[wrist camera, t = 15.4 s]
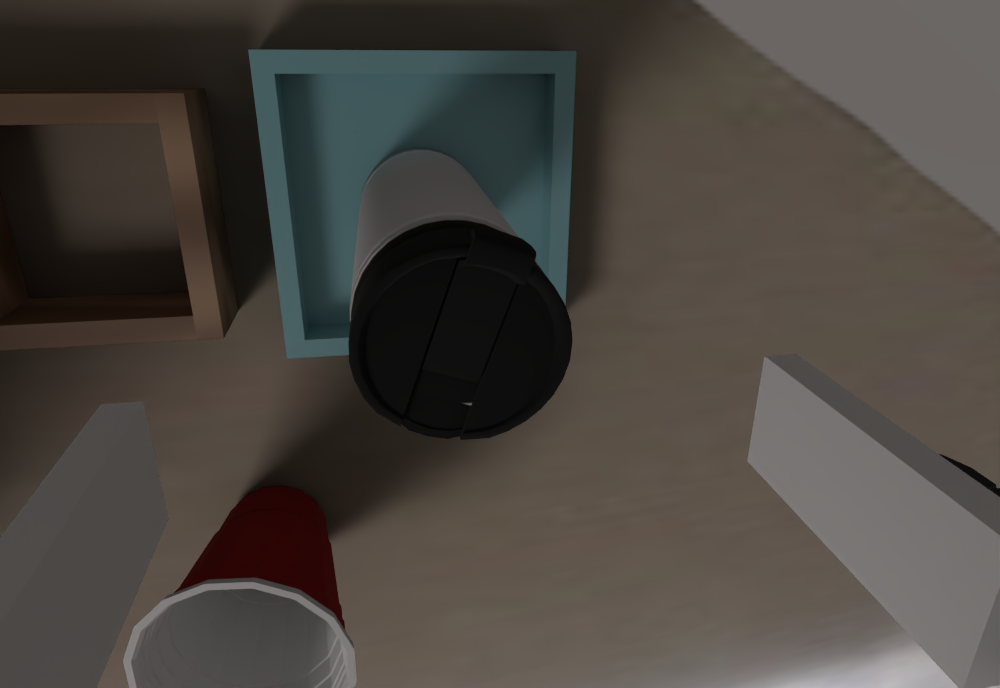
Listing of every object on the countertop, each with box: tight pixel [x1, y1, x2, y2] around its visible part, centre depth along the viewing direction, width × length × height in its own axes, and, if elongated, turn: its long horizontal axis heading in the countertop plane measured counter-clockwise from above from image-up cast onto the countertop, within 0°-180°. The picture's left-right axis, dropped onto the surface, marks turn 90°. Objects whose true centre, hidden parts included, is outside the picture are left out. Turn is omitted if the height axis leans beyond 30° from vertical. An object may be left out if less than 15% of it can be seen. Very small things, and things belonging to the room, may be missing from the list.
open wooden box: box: [0, 88, 238, 351], centre depth 33 cm, size 12×12×4 cm
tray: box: [248, 50, 577, 359], centre depth 36 cm, size 15×15×3 cm
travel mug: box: [348, 147, 572, 440], centre depth 27 cm, size 6×7×20 cm
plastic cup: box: [123, 486, 356, 688], centre depth 38 cm, size 11×11×12 cm
